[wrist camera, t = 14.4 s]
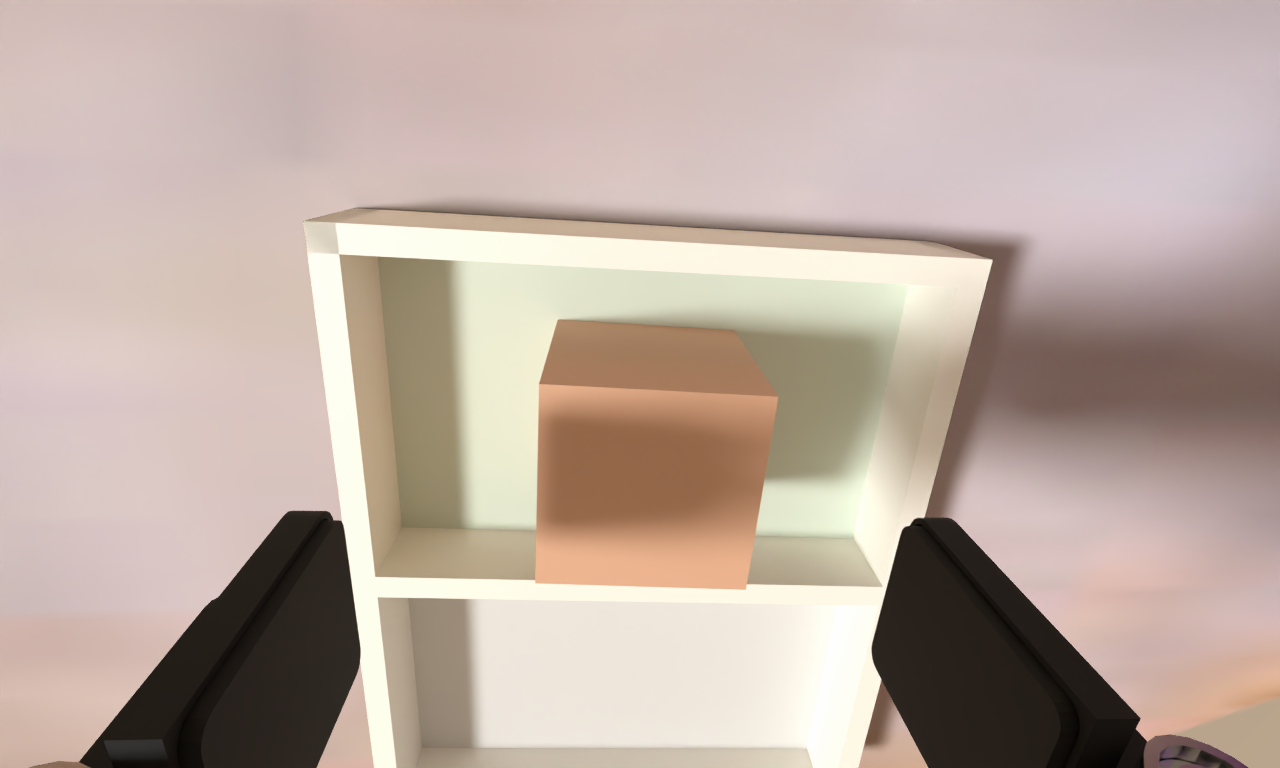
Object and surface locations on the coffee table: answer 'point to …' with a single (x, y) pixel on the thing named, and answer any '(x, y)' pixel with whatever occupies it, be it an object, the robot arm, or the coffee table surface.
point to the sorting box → (507, 484)
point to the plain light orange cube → (649, 456)
